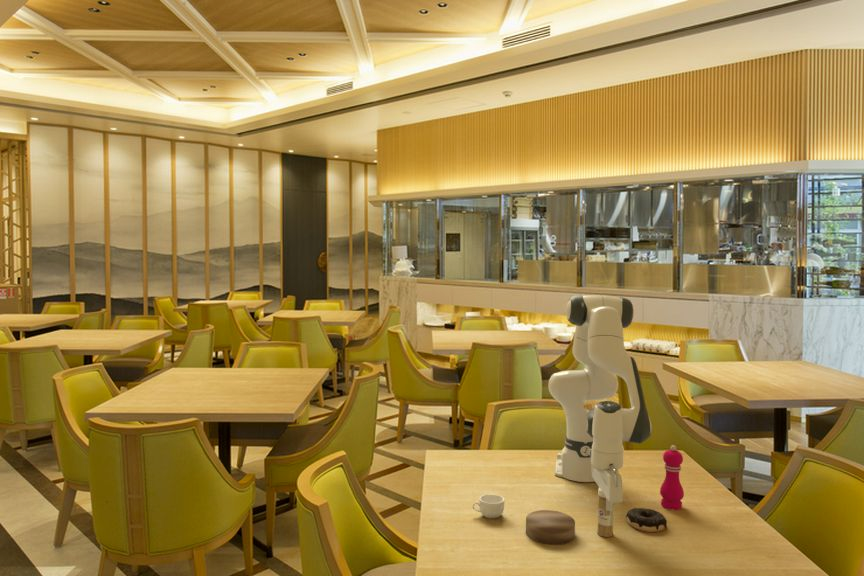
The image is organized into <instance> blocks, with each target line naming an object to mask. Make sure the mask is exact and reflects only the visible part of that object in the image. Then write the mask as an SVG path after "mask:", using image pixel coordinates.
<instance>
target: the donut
mask: <svg viewBox="0 0 864 576" xmlns="http://www.w3.org/2000/svg"><path fill="white" fill-rule="evenodd" d="M625 518H626V519H625V520H626V522H627V523H628V525H630V526H631V527H632V528H634V529H636V530H639V531H642V532H645V533H658V532H661V531H664V530H665V529H667V524H668V520H667V519H666V517H665V516H664V514H663V513H661V512H659V511H658V510H654V509H650V508H645V507H633V508H629V510H628V511H627V512H626V514H625Z"/></svg>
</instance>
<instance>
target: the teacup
mask: <svg viewBox="0 0 864 576" xmlns="http://www.w3.org/2000/svg"><path fill="white" fill-rule="evenodd" d="M505 500H506V499H505V498H504V496H502V495H501V494H500V495H499V494H496V493H487V494H482V495H480V496H479V498H478V501H475V502H473V503H472V509H473V510H474V511H475V512H478V513H481V514H482V515H483V516H484V517H485V518H487V519H491V518H492V519H497V518H500V517H501V516H502V515H503V513H504V510H505ZM475 505H478V507H479V509H477V508H475ZM492 519H491V520H492Z"/></svg>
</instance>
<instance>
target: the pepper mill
mask: <svg viewBox="0 0 864 576" xmlns="http://www.w3.org/2000/svg"><path fill="white" fill-rule="evenodd" d="M662 460H663V462H664V470H665V477H664V479H663V482H662V483H661V486H660V488H659V494H660V496H661V497H662V498H661V501H660V503H661V504H660V505H661V507H662V508H665V509H667V510H672V511H677V510H681V509H682V508H683V502H682V500H683V499H684V496H685V495H684V493H685V491H684V488H683V486H682V484H681V480H680V472H681V471H682V466H681V464H683V462H684V457H683V454H682V453H681V452H680V451H678V450H677V447H676V445H674V444H672V445H671V446H670V449H667V450H666V451H665V452H663V455H662Z"/></svg>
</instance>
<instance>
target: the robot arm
mask: <svg viewBox="0 0 864 576" xmlns="http://www.w3.org/2000/svg"><path fill="white" fill-rule="evenodd" d="M567 301H568V302H567V304H566V305H565V306H566V307H565V315H566V318H567V321H568V322H569V324H571V325H573V326H575V329H574V331H575V332H574V336H573V343H572V352H571V353H572V356H573V357H574V359H575V360H576V362H579V363H581V364H582V365H583V366H584V368H583V369H577V370H576V369H575V370H574V369H573V370H570V369H569V370H562V371H557V372H555V373H552V374H551V376H550V378H549V379H548V386H547V387H548V391H549V393H550V395H551V397H552V398H553V399H554V400H555V401H557V402H558V403H559V404H560V405H561V407H562V409H563V411H564V414H565V419H566V420H565V421H566V422H565V423H566V436H565V438H564V447H563V448H562V450H561V453H559V452H557V455H556V459H557V460H556V461H555V471H554V472H555V473H554V475H555V476H556V477H560V478H564V479H566V480H570V481H573V482H578V483H579V482H580V483H594V482H595V484H596V485H597V486H598V489H599V488H600V489H601V491H602V492H603V494H604V495H605V497H606V503H605V508H606V510H607V511H612V509H613V503H614V504H620V503H622V502H623V499H624V498H623V496H624V495H623V478H622V475H621V474H620V472H619V470H620V469H622V468H623V467H624V447H623V442H629V443H634V444H639V445H641V444H642V443H643V442H645V441H646V440H648V439H649V438H650V437H651V433H652V422H651V421H652V420H651V418H650V416H649V412H648V409H647V405H646V401H645V395H644V392H643V391H644V390H643V386H642V382H641V376H640V372H639V369H638V365H637V362H636V360H635V358H634V357H632V356H630V355H629V354H628V351H627V350H626V346H625V344H624V343H625V342H624V339H625V338H624V329H625V328H628V327H629V326H630V325H632V322H633V319H634V315H635V312H634V306H633V303H632V301H631V300H630V299H628V298H626V297H622V296H619V297H616V296H611V295H605V294H604V295H603V294H600V295H596V294H592V295H589V294H586V295H583V294H575V295H571V296H570V297H569V299H568V300H567ZM617 376H618V377H620V378H621V379H622V380H624V382H625V383H626V386H627V391H628V396H629V402H630V406H631V407H630V408H623V407H622V406H621V404H619V403H618V402H615V401H611V400H607V399H610V398H614V397H615V396H616V394H617V392H618V390H619V380H618V378H617ZM585 401H599V402H597V403H596V404H595V405H594V407H593V408H592V409H590V410H589V409H587V408H586V407H585Z"/></svg>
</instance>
